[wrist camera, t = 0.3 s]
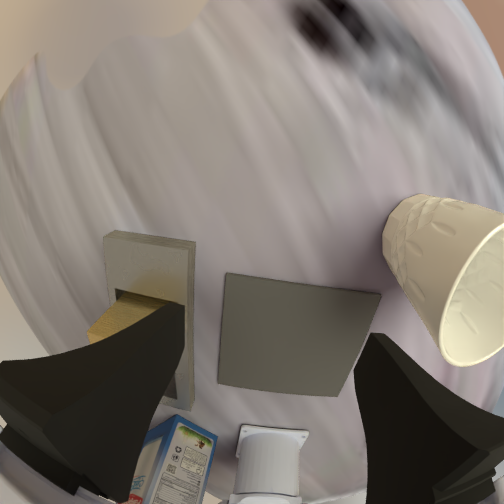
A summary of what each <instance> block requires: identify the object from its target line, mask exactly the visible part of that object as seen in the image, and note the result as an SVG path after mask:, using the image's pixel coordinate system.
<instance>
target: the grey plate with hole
mask: <svg viewBox="0 0 504 504" xmlns="http://www.w3.org/2000/svg"><path fill="white" fill-rule="evenodd" d="M103 244H104V257H105V267H106V276H107V285H108V292H109V299H110V305H111V306H112V305H113V304H114V303H115V302H116V301H117V300H118V299H119V298H120V297H121V296H122V295H123V294H124V293H125V292H126V291H129V292H133V293H137V294H142V295H146V296H151V297H155V298H160V299H164V300H169V301H174V302H178V304H181V305H185V348H184V350H183V353H182V356H181V359H180V362H179V365H178V367H177V369H176V371H175V373H174V375H173V377H172V379H171V381H170V383H169V385H168V387H167V389H166V391H165V393H164V395H163V397H162V399H161V401H160V402H159V403H160V404H164V405H167V406H171V407H174V408H178V409H182V410H186V411H190V412H191V409H192V406H193V403H194V400H195V395H194V358H193V310H194V271H195V248H196V242H192V241H185V240H178V239H172V238H165V237H158V236H151V235H144V234H138V233H131V232H124V231H117V230H115V231H113V232H111V233H109V234H107V235H106V236H104V237H103Z"/></svg>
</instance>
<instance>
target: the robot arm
mask: <svg viewBox="0 0 504 504" xmlns="http://www.w3.org/2000/svg"><path fill="white" fill-rule="evenodd" d="M184 348H185V305H181V304H177V303H172V302H169V303H167V304H166V305H164V306H162V307H161V308H159V309H157V310H156V311H154V312H153V313H151V314H149V315H148V316H146V317H144V318H143V319H141V320H139V321H138V322H136V323H134V324H132V325H131V326H129V327H127V328H125V329H123V330H121V331H119V332H117V333H115V334H113V335H111V336H109V337H107V338H105V339H103V340H100V341H98V342H95V343H93V344H90V345H88V346H85V347H82V348H78V349H75V350H72V351H68V352H65V353H61V354H57V355H52V356H48V357H42V358H35V359H27V360H12V361H11V360H10V361H2V362H1V363H0V415H1V417H2V418H3V419H4V420H5V422H6V423H7V425H6V426H5V428H4V429H3V428H2V426H1V425H0V504H114V503H112V502H110V501H107V500H106V499H110V500H113V501H115V502H117V503H124V502H127V501H128V500H129V495H130V491H131V486H132V482H133V477H134V473H135V470H136V466H137V462H138V459H139V455H140V452H141V449H142V446H143V443H144V440H145V437H146V434H147V431H148V428H149V425H150V423H151V420H152V417H153V415H154V413H155V410H156V408H157V406H158V404H159V402H160V401H161V399H162V397H163V395H164V393H165V391H166V389H167V387H168V385H169V383H170V381H171V379H172V377H173V375H174V373H175V371H176V369H177V367H178V365H179V362H180V359H181V356H182V353H183V350H184ZM354 383H355V392H356V396H357V401H358V405H359V410H360V414H361V418H362V423H363V427H364V432H365V438H366V444H367V462H368V482H367V496H366V504H504V475H503V476H502V477H500V478H499V479H497V480H496V481H494V482H493V481H492V477H493V476H495V474H496V471H495V469H494V467H496V466H497V465H498V464H499V463H500V462H501V461H503V460H504V418H503V417H500V416H497V415H494V414H492V413H489V412H487V411H485V410H482V409H480V408H478V407H476V406H474V405H472V404H471V403H469V402H467V401H466V400H464V399H462V398H460V397H459V396H457V395H456V394H454V393H453V392H451V391H450V390H449V389H447V388H446V387H444V386H443V385H442V384H440V383H439V382H438V381H437V380H435V379H434V378H433V377H432V376H431V375H430V374H428V373H427V372H426V371H425V370H424V369H423V368H421V367H420V366H419V365H418V364H417V363H416V362H415V361H414V360H413V359H412V358H411V357H410V356H409V355H407V354H406V353H405V352H404V351H403V350H402V349H401V348H400V347H399V346H398V345H397V344H396V343H395V342H394V341H392V340H391V339H390V338H389V337H388V336H386V335H385V334H383V333H370V335H369V337H368V340H367V342H366V344H365V346H364V349H363V351H362V353H361V355H360V357H359V359H358V362H357V364H356V366H355V368H354ZM308 435H309V432H308V431H305V430H288V429H276V428H267V427H258V426H251V425H242V426H241V431H240V436H239V441H238V446H237V451H236V457H237V458H239V461H238V467H237V473H236V479H235V485H234V491H233V494H230V497H229V500H223V501H222V502H220V503H218V504H307V503H301V497H299V450H300V449H301V447H302V445H303V444H304V442H305V440H306V439H307V437H308ZM99 495H100V496H102V497H104V498H106V499H103V498H101V497H99Z"/></svg>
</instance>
